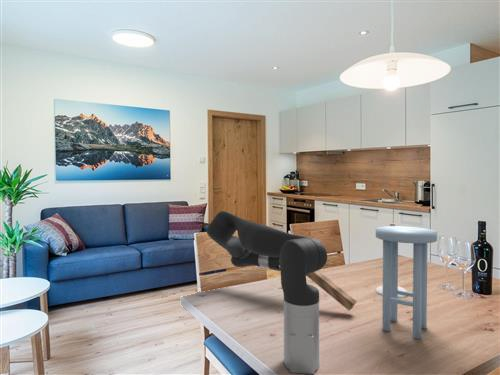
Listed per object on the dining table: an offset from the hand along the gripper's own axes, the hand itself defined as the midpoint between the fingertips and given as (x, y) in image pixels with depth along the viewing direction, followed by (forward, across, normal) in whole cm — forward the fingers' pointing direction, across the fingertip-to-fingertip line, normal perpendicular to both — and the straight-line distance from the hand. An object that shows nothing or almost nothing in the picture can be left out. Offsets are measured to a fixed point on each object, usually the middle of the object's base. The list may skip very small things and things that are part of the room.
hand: (309, 266), depth 131 cm
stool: (+34, 0, -15) cm, 37 cm away
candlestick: (+22, -33, -15) cm, 43 cm away
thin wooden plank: (+5, 0, -6) cm, 8 cm away
